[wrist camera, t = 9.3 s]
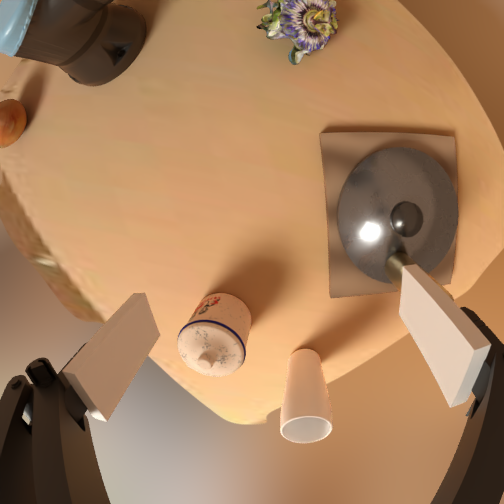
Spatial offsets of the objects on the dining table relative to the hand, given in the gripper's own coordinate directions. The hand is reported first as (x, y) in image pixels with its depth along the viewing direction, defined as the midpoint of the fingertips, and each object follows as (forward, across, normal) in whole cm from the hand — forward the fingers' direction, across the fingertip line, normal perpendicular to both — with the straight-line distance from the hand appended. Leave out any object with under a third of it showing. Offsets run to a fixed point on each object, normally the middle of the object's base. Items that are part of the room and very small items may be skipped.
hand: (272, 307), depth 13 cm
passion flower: (+26, -6, -25) cm, 36 cm away
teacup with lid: (+24, +11, +16) cm, 31 cm away
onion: (+26, +47, -27) cm, 60 cm away
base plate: (+24, -16, +2) cm, 29 cm away
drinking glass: (+24, -1, +25) cm, 34 cm away
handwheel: (+22, -16, +2) cm, 28 cm away
